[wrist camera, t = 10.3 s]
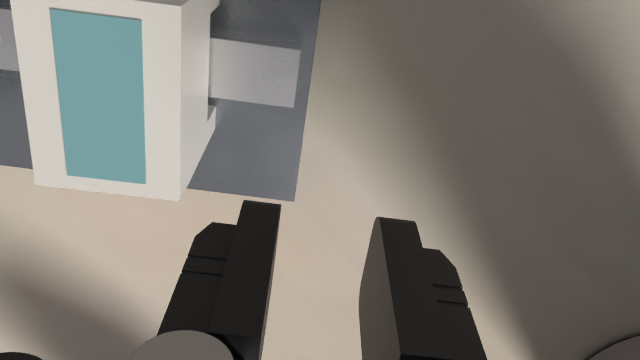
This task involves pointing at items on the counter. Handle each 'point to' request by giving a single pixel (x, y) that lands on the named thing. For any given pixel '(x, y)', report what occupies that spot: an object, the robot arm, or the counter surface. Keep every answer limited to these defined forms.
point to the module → (116, 92)
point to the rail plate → (237, 123)
